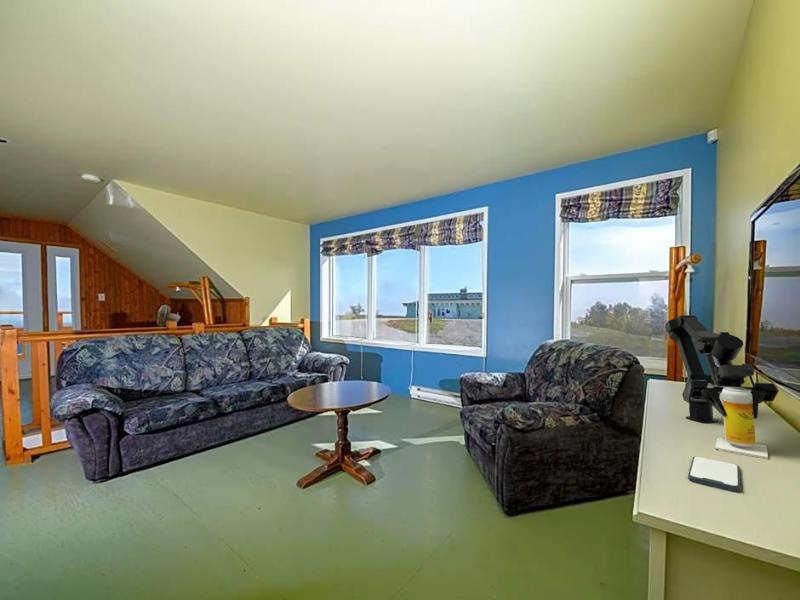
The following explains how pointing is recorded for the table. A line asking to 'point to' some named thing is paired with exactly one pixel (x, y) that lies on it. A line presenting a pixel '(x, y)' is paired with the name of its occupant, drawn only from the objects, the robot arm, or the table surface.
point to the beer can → (738, 416)
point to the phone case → (715, 474)
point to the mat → (742, 449)
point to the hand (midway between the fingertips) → (740, 416)
